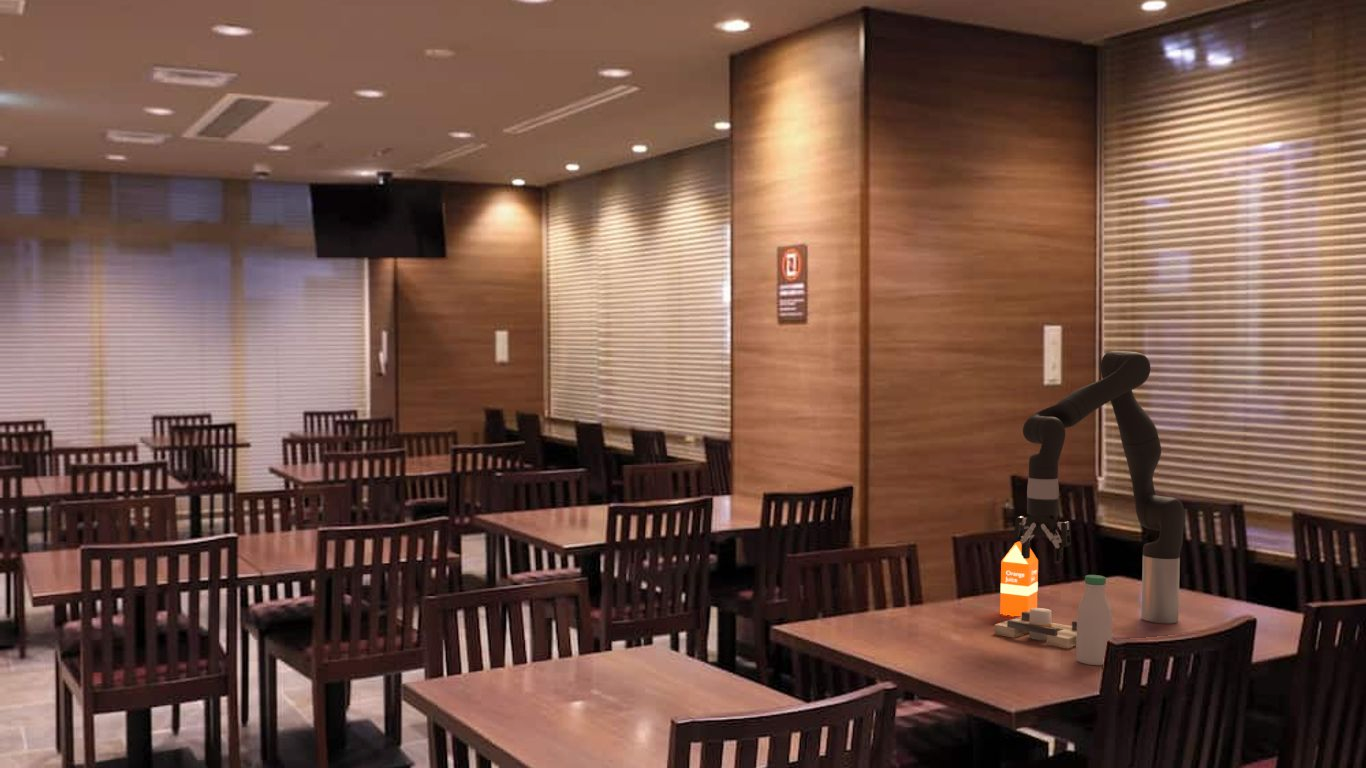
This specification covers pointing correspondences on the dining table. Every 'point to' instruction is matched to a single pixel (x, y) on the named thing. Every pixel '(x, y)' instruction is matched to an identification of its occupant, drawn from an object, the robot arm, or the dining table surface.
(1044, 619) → the orange-banded white cylinder
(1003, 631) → the shelf board
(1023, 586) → the orange juice
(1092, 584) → the milk bottle
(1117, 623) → the dining table surface
